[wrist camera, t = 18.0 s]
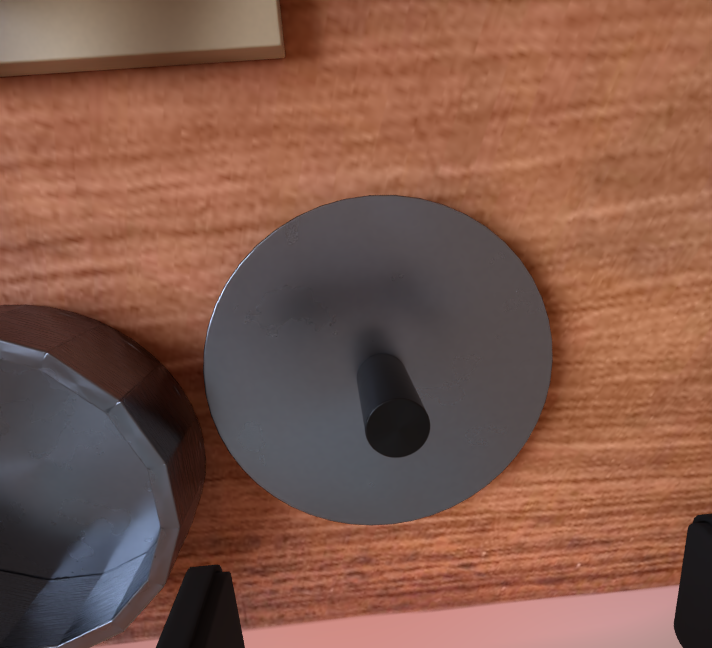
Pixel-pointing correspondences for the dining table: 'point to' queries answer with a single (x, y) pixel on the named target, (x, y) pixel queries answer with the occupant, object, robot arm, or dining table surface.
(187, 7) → the board
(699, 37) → the dining table surface
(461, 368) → the lid
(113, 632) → the pan
